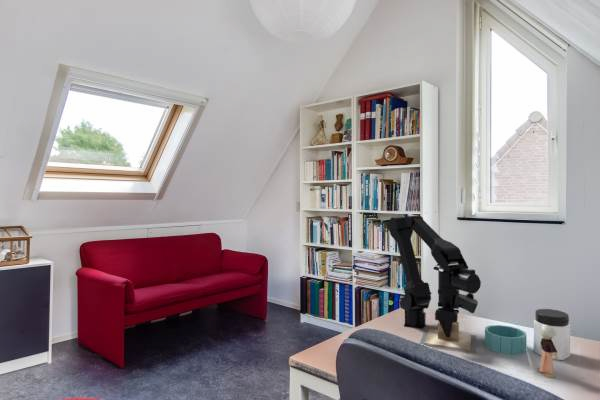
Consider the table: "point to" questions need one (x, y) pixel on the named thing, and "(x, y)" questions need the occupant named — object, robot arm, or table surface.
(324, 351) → the table surface
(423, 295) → the robot arm
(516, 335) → the bowl
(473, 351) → the mat
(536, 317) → the jar
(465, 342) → the cover board
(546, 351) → the grandmother figurine
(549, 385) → the table surface
